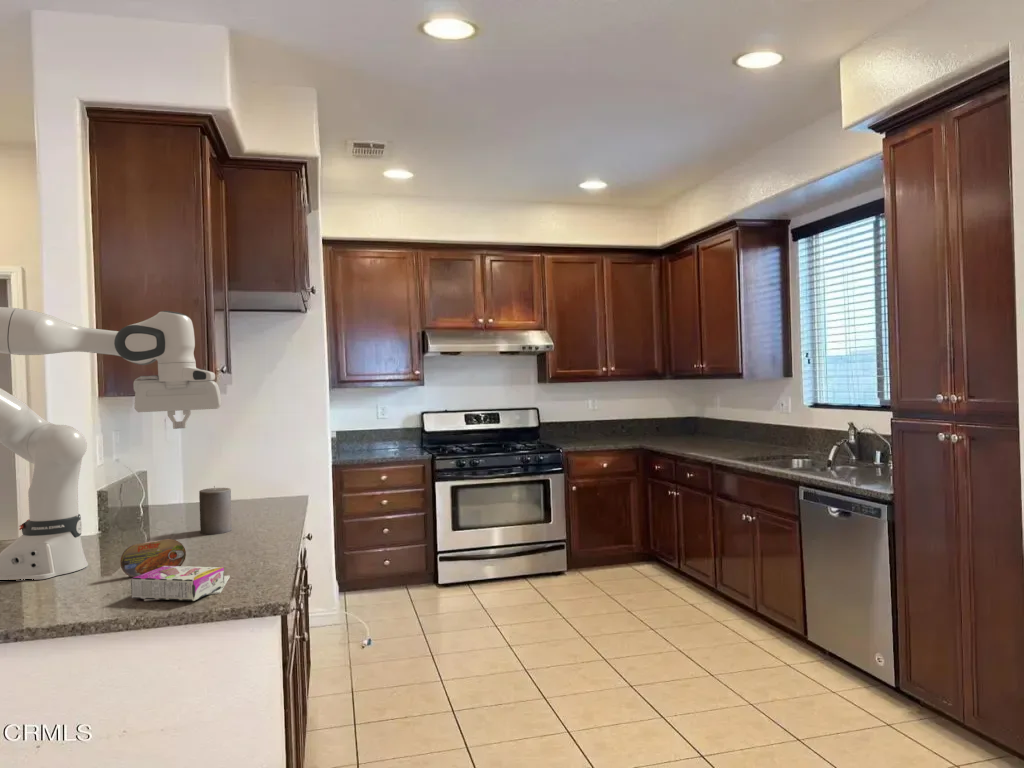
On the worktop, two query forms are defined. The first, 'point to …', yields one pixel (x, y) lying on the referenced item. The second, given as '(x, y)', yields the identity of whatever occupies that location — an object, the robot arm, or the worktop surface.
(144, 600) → the mat
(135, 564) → the tin
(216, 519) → the pillar candle
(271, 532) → the worktop surface
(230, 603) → the worktop surface
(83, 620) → the worktop surface
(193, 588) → the candy bar box
